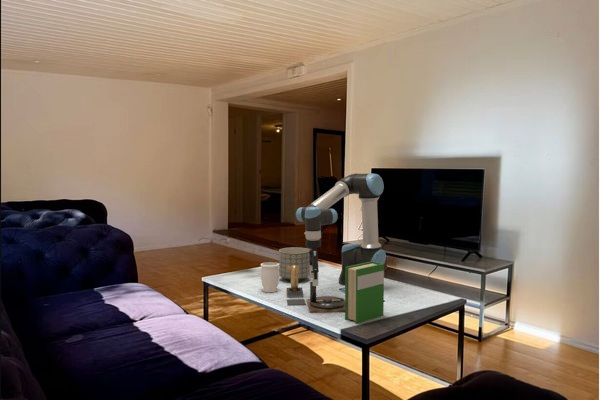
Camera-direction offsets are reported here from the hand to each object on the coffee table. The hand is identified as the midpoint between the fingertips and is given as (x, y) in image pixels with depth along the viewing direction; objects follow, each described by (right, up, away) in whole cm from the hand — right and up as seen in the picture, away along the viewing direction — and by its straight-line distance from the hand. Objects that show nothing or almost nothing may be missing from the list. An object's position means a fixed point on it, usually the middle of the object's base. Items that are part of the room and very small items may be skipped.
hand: (314, 281), depth 218 cm
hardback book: (+22, -14, -16) cm, 30 cm away
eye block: (-10, -11, +20) cm, 25 cm away
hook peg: (-11, -11, +20) cm, 25 cm away
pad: (-9, -12, +7) cm, 16 cm away
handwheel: (+7, -11, +1) cm, 13 cm away
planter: (-10, -9, +53) cm, 54 cm away
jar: (-23, -10, +29) cm, 39 cm away
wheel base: (+7, -12, +1) cm, 14 cm away
